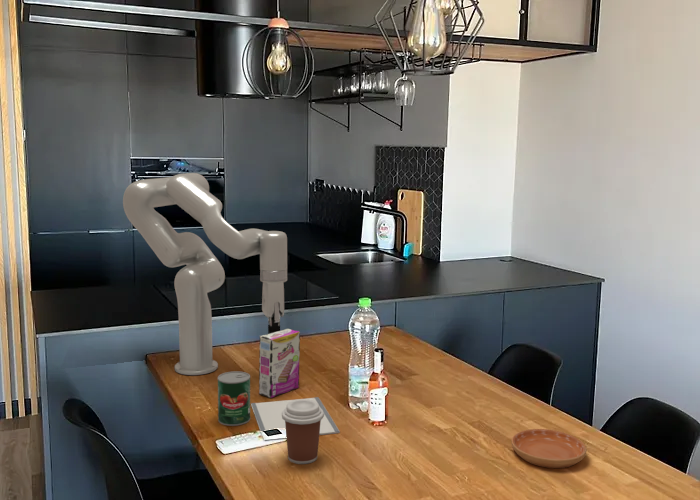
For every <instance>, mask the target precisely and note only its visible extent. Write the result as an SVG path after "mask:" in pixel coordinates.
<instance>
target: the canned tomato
mask: <svg viewBox="0 0 700 500" xmlns="http://www.w3.org/2000/svg"><path fill="white" fill-rule="evenodd" d="M217 408H218V409H217V412H218V413H217V415H218V417H217V420H218V423H219V424H221V425H224V426H228V427H230V426H231V427H236V426H242V425H245V424H247V423H249V422H250V421H251V374H250V373H248V372H245V371H237V370H236V371H228V372H227V371H226V372H222V373H221V374H219V375H218V376H217Z"/></svg>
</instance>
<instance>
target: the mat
mask: <svg viewBox="0 0 700 500" xmlns="http://www.w3.org/2000/svg"><path fill="white" fill-rule="evenodd" d="M298 399H299V398H297V399H295V400H298ZM306 399H309V400H313V401H315V402H317V403H318V404H319V407H320V408H321V409H322V410H323V412H324V417H323V419H322V420H321V423H320V434H319V436H323V435H324V436H325V435H333V434H340V433H341V431H340V430H339V428H338V426H337V425H336V423H335V421H334V419H333V418H332V416H331V414H330V413H329V411H328V410H327V409H326V407H325V405H324V404H323V402H322V400H321V399H320V398H319V397H318V396H317V397H316V396H315V397H309V398H306ZM293 400H294V399H287V400H277V401H275V400H274V401H266V402H265V401H264V402H250V408H251V410H252V412H253V414H254V418H255V420H256V421H255V422H256V424H257V426H258V428H259V431H264V430H269V429H274V428H285V429H286V426H285V420H284V419H282V411H283V410H284V409H285V408H286V405H287V404H288V403H289V402H291V401H293Z"/></svg>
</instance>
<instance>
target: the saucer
mask: <svg viewBox="0 0 700 500" xmlns="http://www.w3.org/2000/svg"><path fill="white" fill-rule="evenodd" d="M511 446H512V448H513V450H514V451H515V453H516V454H517V455H518V456H519V457H521V459H523V460H524V461H526V462H528V463H529V464H532V465H534V466H538V467H542V468H547V469H565V467H566V468H569V467H573V466H574V465H576V464H578V463H579V462H580V461H582V460H583V459H584V458H585V457H586V455H587V450H588V449H587V445H585V443H584V442H583V441H582V440H581V439H579V438H577V436H574V435H571V434H570V433H567V432H564V431H559V430H554V429H547V428H531V429H525V430H521V431H518V432H516V433H515V434H514V435H513V436H512V438H511Z"/></svg>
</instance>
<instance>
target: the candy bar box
mask: <svg viewBox="0 0 700 500" xmlns="http://www.w3.org/2000/svg"><path fill="white" fill-rule="evenodd" d="M300 339H301V332H300V331H299V330H295V329H291V328H285V329H282V330H281V329H280V331H277V332H274V333H270V334H268V333H266V334H263V335H259V359H258V360H259V369H258V371H259V373H258V374H259V375H258V376H259V377H258V379H259V383H258V391H259V392H258V394H259V395H261V396H264V397H267V398H269V399H273V398H275V397H278V396H280V395H283V394H285V393H288V392H291V391H294V390H296V389H298V388H300V352H301V351H300V349H301V348H300V347H301V346H300V345H301V344H300V341H301V340H300Z"/></svg>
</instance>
